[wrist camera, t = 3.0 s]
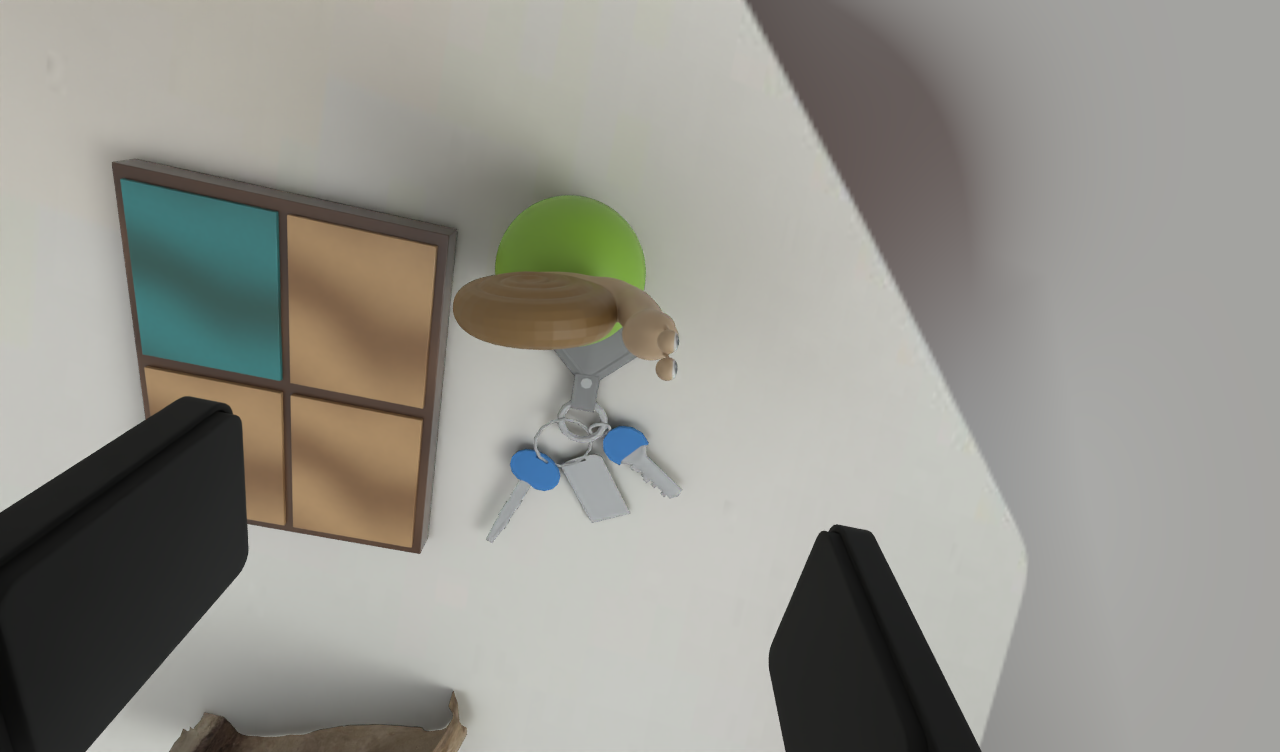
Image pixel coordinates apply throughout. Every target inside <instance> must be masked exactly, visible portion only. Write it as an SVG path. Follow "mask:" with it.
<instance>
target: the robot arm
mask: <svg viewBox="0 0 1280 752" xmlns="http://www.w3.org/2000/svg"><path fill="white" fill-rule="evenodd" d="M247 556H248V530H247V510H246V490H245V470H244V450H243V430H242V421H241V419H240V417H239V416H237V415H234V414H233V412H232V409H231V407H230V406H229V405H227V404H226V403H222V402H217V401H212V400H206V399H201V398H196V397H191V396H184V397H181V398H179V399H177V400H176V401H174V402H172V403H171V404H169V405H168V406H166V407H165V408H163V409H162V410H160V411H158V412H157V413H155V414H154V415H152V416H151V417H149V418H147V419H146V420H144V421H143V422H141V423H140V424H138V425H137V426H135V427H133V428H132V429H130V430H129V431H127V432H126V433H124V434H122V435H121V436H119V437H118V438H116V439H115V440H113V441H112V442H110V443H108V444H107V445H105V446H104V447H102V448H101V449H99V450H97V451H96V452H94V453H93V454H91V455H90V456H88V457H87V458H85V459H83V460H82V461H80V462H79V463H77V464H76V465H74V466H72V467H71V468H69V469H68V470H66V471H65V472H63V473H62V474H60V475H58V476H57V477H55V478H54V479H52V480H51V481H49V482H47V483H46V484H44V485H43V486H41V487H40V488H38V489H37V490H35V491H33V492H32V493H30V494H29V495H27V496H26V497H24V498H22V499H21V500H19V501H18V502H16V503H15V504H13V505H12V506H10V507H8V508H7V509H5V510H4V511H2V512H1V513H0V752H86V750H87V749H88V748H89V747H90V746H91V745H92V744H93V742H94V741H95V740H96V739H97V738H98V737H99V735H100V734H101V733H102V732H103V731H104V730H105V728H106V727H107V726H108V725H109V724H110V723H111V722H112V720H113V719H114V718H115V717H116V716H117V715H118V713H119V712H120V711H121V710H122V709H123V708H124V707H125V705H126V704H127V703H128V702H129V701H130V700H131V698H132V697H133V696H134V695H135V694H136V693H137V691H138V690H139V689H140V688H141V687H142V686H143V685H144V683H145V682H146V681H147V680H148V679H149V678H150V676H151V675H152V674H153V673H154V672H155V671H156V670H157V668H158V667H159V666H160V665H161V664H162V663H163V661H164V660H165V659H166V658H167V657H168V656H169V654H170V653H171V652H172V651H173V650H174V649H175V648H176V646H177V645H178V644H179V643H180V642H181V641H182V639H183V638H184V637H185V636H186V635H187V634H188V633H189V631H190V630H191V629H192V628H193V627H194V626H195V624H196V623H197V622H198V621H199V620H200V619H201V617H202V616H203V615H204V614H205V613H206V612H207V611H208V609H209V608H210V607H211V606H212V605H213V604H214V602H215V601H216V600H217V599H218V598H219V597H220V596H221V594H222V593H223V592H224V591H225V590H226V589H227V587H228V586H229V585H230V584H231V583H232V582H233V581H234V579H235V578H236V577H237V576H238V575H239V573H240V572H241V571H242V569H243V567H244V565H245V562H246V560H247ZM769 671H770V676H771V681H772V686H773V691H774V696H775V701H776V706H777V711H778V716H779V721H780V726H781V731H782V736H783V741H784V746H785V751H786V752H981V749H980V747H979V745H978V743H977V741H976V739H975V737H974V735H973V733H972V731H971V729H970V727H969V725H968V723H967V721H966V719H965V717H964V715H963V713H962V711H961V709H960V707H959V705H958V703H957V701H956V699H955V697H954V695H953V693H952V691H951V689H950V687H949V685H948V683H947V681H946V679H945V677H944V675H943V673H942V671H941V669H940V667H939V665H938V663H937V661H936V659H935V657H934V655H933V653H932V651H931V649H930V647H929V645H928V643H927V641H926V639H925V637H924V635H923V633H922V631H921V629H920V627H919V625H918V623H917V621H916V619H915V617H914V615H913V613H912V611H911V609H910V607H909V605H908V603H907V601H906V599H905V597H904V595H903V593H902V591H901V589H900V587H899V585H898V583H897V581H896V579H895V577H894V575H893V573H892V571H891V569H890V567H889V565H888V563H887V561H886V559H885V557H884V555H883V553H882V551H881V549H880V547H879V545H878V543H877V541H876V539H875V537H874V535H873V534H872V533H871V532H870V531H868V530H863V529H857V528H852V527H847V526H842V525H833V526H832V527H831V528H830V530H829V532H827V531H821V532H820V533H819V535H818V536H817V538H816V541H815V543H814V545H813V548H812V550H811V553H810V555H809V557H808V560H807V562H806V564H805V567H804V569H803V571H802V574H801V576H800V578H799V581H798V583H797V585H796V588H795V590H794V592H793V595H792V597H791V600H790V602H789V604H788V607H787V609H786V611H785V614H784V616H783V618H782V621H781V623H780V625H779V628H778V630H777V632H776V635H775V637H774V639H773V642H772V644H771V647H770V652H769Z"/></svg>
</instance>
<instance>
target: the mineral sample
mask: <svg viewBox="0 0 1280 752" xmlns="http://www.w3.org/2000/svg"><path fill="white" fill-rule="evenodd" d="M449 708H450V710H451V712H452V713H453V718H452V720H451V722H450V723H449V725H448V726H447V727H446V728H445V729H442V730H435V731H424V730H423V728H421V727H405V726H394V725H379V724H373V725H347V726H345V727H343V726H339V727H334V728H328V729H321V730H317V731H314V732H311V733H308V734H304V735H286V736H280V737H259V736H246V735H242V734H240V733H238V732H237V730H236V729H235V728H234V727H233V726H232V725H231V724H230V723H229V722H228V721H227V720H226V719H225V718H224V717H222V716H217V715H213V714H209V713H205V712H204V714H203V716H202V718H201V720H200V722H199V723H198V724H197V725H196V726H195V728H194V729H192V728H191V727H190V730H189V731H186V730H185V729H183V730H182V733H181V736H180V737H179V738H178V739H177V741H176V742H175V743H174V745H173V746H172V748H171V750H170V751H169V752H457V751H458V750H459V748H460V746H461V744H462V742H463V741H464V739H465V737H466V735H467V728H466V727H464V726H462V725H461V723H460V722H459V710H458V702H457V700H456V697H455V694H454V691H453V693H452V696H451V700H450V703H449Z"/></svg>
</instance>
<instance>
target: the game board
mask: <svg viewBox="0 0 1280 752" xmlns="http://www.w3.org/2000/svg"><path fill="white" fill-rule="evenodd" d="M112 169H113V176H114V184H115V191H116V199H117V207H118V214H119V222H120V229H121V237H122V244H123V252H124V260H125V267H126V275H127V282H128V290H129V297H130V305H131V313H132V320H133V328H134V335H135V343H136V350H137V358H138V366H139V373H140V381H141V388H142V396H143V403H144V411H145V419H147V418H149V417H151V416H152V415H154V414H155V413H157V412H158V411H160V410H162V409H163V408H165V407H166V406H168V405H169V404H171V403H172V402H174V401H176V400H177V399H179V398H181V397H184V396H191V397H196V398H201V399H206V400H212V401H217V402H222V403H226V404H227V405H229V406H230V407H231V409H232V412H233V414H234V415H237V416H239V417H240V419H241V421H242V430H243V450H244V470H245V490H246V510H247V524H251V525H257V526H262V527H268V528H274V529H280V530H285V531H291V532H297V533H302V534H308V535H314V536H320V537H325V538H331V539H337V540H343V541H348V542H354V543H360V544H366V545H371V546H377V547H383V548H389V549H394V550H400V551H406V552H412V553H417V554H420V553H421V551H422V549H423V547H424V545H425V543H426V541H427V539H428V530H429V520H430V509H431V499H432V488H433V478H434V468H435V457H436V447H437V437H438V426H439V416H440V405H441V395H442V385H443V374H444V364H445V354H446V343H447V333H448V323H449V312H450V302H451V291H452V281H453V271H454V260H455V250H456V240H457V229H454V228H449V227H445V226H440V225H436V224H431V223H427V222H422V221H417V220H413V219H408V218H404V217H399V216H395V215H390V214H385V213H381V212H376V211H372V210H367V209H363V208H358V207H354V206H349V205H344V204H340V203H335V202H331V201H326V200H322V199H317V198H312V197H308V196H303V195H299V194H294V193H290V192H285V191H280V190H276V189H271V188H267V187H262V186H258V185H253V184H248V183H244V182H239V181H235V180H230V179H226V178H221V177H216V176H212V175H207V174H203V173H198V172H194V171H189V170H185V169H180V168H175V167H171V166H166V165H162V164H157V163H153V162H148V161H143V160H139V159H130V160H123V161H116V162H112Z"/></svg>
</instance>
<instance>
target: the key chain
mask: <svg viewBox="0 0 1280 752" xmlns="http://www.w3.org/2000/svg"><path fill="white" fill-rule="evenodd" d="M622 331H623V327H622V328H621V329H620V330H618V331H617V332H616V333H614V334H613V335H611V336H610V337H608V338H606V339H604V340H602V341H600V342H597V343H594V344H591V345H587V346H581V347H574V348H566V349H553V350H554V351H555V352H556V353H557V355H558V356H559V357H560V358H561V360H562V361H563V362H564V363H565V365H566V366H567V367H568V368H569V370H570V371H571V372H572V373H573V375H574V376H575V380H574V387H573V393H572V399H571V400H570V401H569V402H567V403H566V404H564V405H563V406H562V408H561V409H560V411H559V413H558V419H557V420H552V421H550V422H549V423H547V424H545V425H544V426H542V427H541V428H540V429H539V431H538V432H537V434H536V436H535V437H534V450H530V449H524V450H520V451H518V452H517V453H515V454H514V455H513V456H512V459H511V463H510V466H511V470H512V472H513V474H514V475H515V476H516V477H517V478H518V479H520V481H519V482H518V484H517V485H516V487H515V489H514V490H513V492H512V493H511V497H510V499H509V500H508V501H506V503H505V505H504V506H503V508H502V509H501V511H500V512H499V514H498V515H499V516H498V518H497V519H496V521H495V523H494V524H493V526H492V528H491V530H490V532H489V534H488V536H487V538H486V540H487V541H490V542H491V543H493V541H494V540H495V539H496V537H497V536H498V535H499V534H500V532H501V531H502V530H503V528H504V529H505V527H506V526H507V524H508V523H509V521H510V520H509V519H510V517H511V516H512V514H513V513H514V511H515V510H516V509H518V507H519V506H520V504H521V503H522V501H523V500H522V499H523V497H524V496H525V494H526V493H527V491H528V490H529V488H530V486H532V487H533V488H534V489H537V490H542V491H546V490H551V489H553V488H554V487H555V486H556V485H558V482H559V479H560V472H559V468H558V467H562V470H563V472H564V473H565V475H566V477H567V479H568V481H569V483H570V484H571V486H572V488H573V490H574V492H575V493H576V495H577V497H578V499H579V501H580V502H581V504H582V506H583V508H584V510H585V511H586V513H587V515H588V517H589V519H590V521H591V522H592V523H593V522H598V521H602V520H606V519H610V518H614V517H618V516H622V515H626V514H630V511H629V509H628V507H627V505H626V503H625V501H624V499H623V497H622V496H621V494H620V492H619V490H618V488H617V486H616V484H615V482H614V480H613V478H612V476H611V474H610V472H609V470H608V468H607V466H606V464H605V462H604V460H603V458H602V456H599V455H596V454H591V455H588V453H589V452H590V450H591V449H592V441H594V440H596V439H598V438H599V437H602V436H605V437H604V440H603V448H604V452H605V453H606V455H607V456H608V458H609V459H610V460H611V461H613V462H615V463H616V464H618V465H620V464H630V465H631V466H630V468H631V469H632V470H636V471H637V472H639V471H641V472H642V473H643V474H641V476H642V477H643V478H644V479H643V480H644V481H645V482H646V483H647V482H648V481H650V480H651V481H652V482H653V483H652V484H651V485H652V486H653V487H654V488H655V487H658V488H659V489H660V490H661V491H662V493H661V495H662V496H663V497H665V496H666V495H667V496H668V497H669V498H673V497H677V496H678V495H679V494H680V492H681V491H682V489H681V488H680V487H679V486H678V485H677V484H676V483H675V482H674V481H673V480H672V479H671V478H670V477H669V476H668V475H667V474H666V473H665V472H664V471H663V470H661V469H660V468H659V467H658V466H657V465H656V464H655V463H654V462H653V461H652V460H651V459H650V458H649V457H648V456H647V455H646V445H648V441H647V439H646V438H645V436H644V435H643V433H642V432H640V431H638V430H636V429H635V428H633V427H627V426H618V427H616V428H613V429H611V426H610V425H609V424H607V419H608V418H607V415H606V413H605V411H604V409H603V408H602V407H601V406H600V405H599V404H597V403H596V398H597V392H598V387H599V381H600V380H601V379H603V378H604V377H606V376H607V375H609V374H611V373H612V372H614V371H615V370H617V369H619V368H620V367H622V366H623V365H625V364H627V363H628V362H630V361H631V360H633V359H635V358H636V356H635V355H633V354H632V353H631V352H629V350H628V349H627V348H626V346H625V345H624V342H623V339H622ZM571 408H572V409H578V410H584V411H589V412H594V410H595V411H597V413H598V415H599V417H600V422H598V423H594V424H592V425H590V427H589V428H587V427H586V426H585V425H583V424H582V423H581V422H579V421H577V420H572V419H567V418H565V415H566V413H567V412H568V410H569V409H571ZM565 421H568V422H573V423H577V424H578V425H580V426H581V427H583V428H584V429H585V430H586V432H587V434H588V436H578V435H575V434H573V433H572V432H570V431H569V430H568V429H567V427H566V424H565ZM556 422H558V426H559V428H560V430H561V432H562V433H563V434H564V435H565V436H567V437H568V438H569V439H570V440H573V441H576V442H580V443H584V442H589V448H588V450H587V451H586V453H585V454H584V456H581V457H577V458H574V459H571V460H569V461H566V462H564V464H563V465H560V464H555V462H554V461H553V460H552V459H551V458H549V457H548V456H547V455H546V454H543V453H541V452H539V451H538V449H537V438H538V436H539V435H540V433H541V432H542V430H543V429H544V428H546V427H547V426H549V425H551V424H552V423H556ZM596 426H599V428H598V430H597V431H596V432H595V433H594V432H592V430H591V429H592V428H594V427H596ZM606 428H608V431H606V432H605V430H606ZM583 459H586V460H584V461H581V460H583ZM576 460H577V461H576Z"/></svg>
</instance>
